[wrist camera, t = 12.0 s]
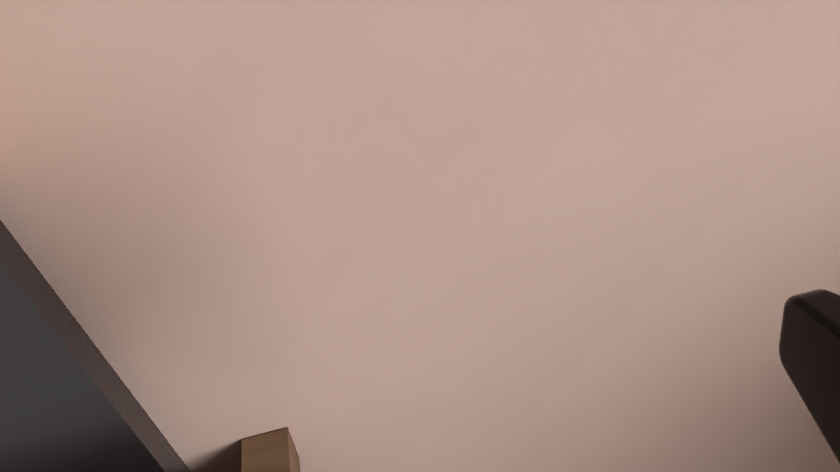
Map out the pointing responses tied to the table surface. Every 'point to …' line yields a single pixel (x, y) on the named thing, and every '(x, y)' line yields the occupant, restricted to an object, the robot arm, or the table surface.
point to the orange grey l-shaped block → (63, 387)
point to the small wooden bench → (270, 453)
